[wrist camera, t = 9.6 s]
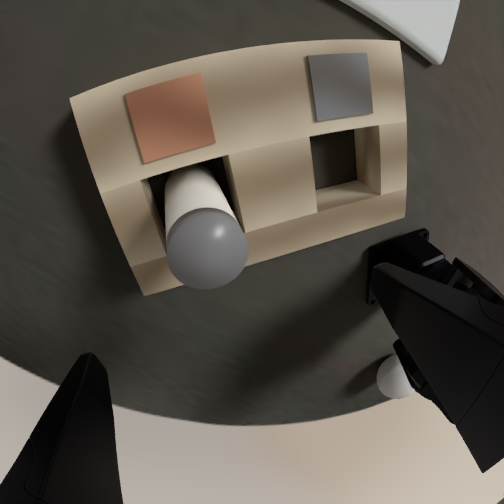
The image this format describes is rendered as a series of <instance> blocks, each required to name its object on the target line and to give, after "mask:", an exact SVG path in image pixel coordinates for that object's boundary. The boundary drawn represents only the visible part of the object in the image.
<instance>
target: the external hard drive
mask: <svg viewBox="0 0 504 504" xmlns="http://www.w3.org/2000/svg"><path fill="white" fill-rule="evenodd" d="M340 1H341V2H343V3H345V4H347V5H348V6H350V7H352V8H354V9H355V10H357V11H359V12H360V13H362V14H363V15H365V16H367V17H368V18H370V19H371V20H373V21H374V22H376V23H378V24H379V25H381V26H382V27H384V28H385V29H387V30H388V31H390V32H391V33H392V34H394V35H395V36H397V37H398V38H399V39H401V40H402V41H403V42H405V43H406V44H407V45H409V46H410V47H412V48H413V49H414V50H415V51H417V52H418V53H419V54H420V55H422V56H423V57H424V58H425V59H427V60H428V61H429V62H430V63H432V64H437V65H440V64H441V63H442V62H443V60H444V57H445V54H446V51H447V47H448V44H449V41H450V37H451V33H452V30H453V26H454V22H455V19H456V15H457V11H458V6H459V3H460V0H340Z"/></svg>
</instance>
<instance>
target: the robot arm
mask: <svg viewBox="0 0 504 504" xmlns="http://www.w3.org/2000/svg"><path fill="white" fill-rule="evenodd" d="M428 238H429V231H428V230H427V229H425V228H423V229H420V230H417V231H414V232H411V233H409V234H406V235H403V236H400V237H397V238H394V239H391V240H388V241H385V242H383V243H380V244H377V245H374V246H372V247H371V248H370V250H369V264H368V282H367V297H366V303H367V304H368V305H369V306H373V305H376V304H378V303H379V304H380V306H381V307H382V309H383V311H384V313H385V315H386V317H387V319H388V320H389V322H390V324H391V326H392V328H393V329H394V331H395V332H396V334H397V335H398V337H399V339H398V340H396V341H395V342H394V344H393V347H394V349H395V351H396V354H397V356H398V359H399V361H400V363H401V365H402V367H403V370H404V372H405V374H406V377H407V379H408V381H409V383H410V386H411V387H412V388H413V389H414V390H415V391H416V392H418V393H419V394H420V395H422V396H423V397H425V398H427V399H428V400H431V401H432V402H433V403H434V404H435V405H436V406H437V407H438V408H439V409H440V410H441V411H442V412H443V414H444V415H445V416H446V418H447V419H448V420H449V421H450V422H451V423H452V424H455V425H456V428H457V430H458V431H459V433H460V435H461V436H462V438H463V440H464V441H465V443H466V445H467V447H468V448H469V450H470V452H471V454H472V456H473V457H474V459H475V461H476V463H477V465H478V467H479V468H480V470H481V472H482V473H484V472H485V471H487V470H488V469H490V468H491V467H492V466H494V465H495V464H496V463H497V462H499V461H500V460H501V459H503V458H504V296H503V295H502V294H501V292H500V291H499V290H498V289H497V288H496V287H495V286H494V285H493V284H491V283H490V282H489V281H488V280H487V279H486V278H484V277H483V276H482V275H481V274H480V273H478V272H477V271H476V270H474V269H473V268H471V267H470V266H468V265H467V264H465V263H464V262H462V261H461V260H459V259H458V258H456V257H455V259H454V261H453V262H452V263H453V264H450V263H449V262H448V261H447V260H446V259H445V255H444V254H443V253H442V252H441V251H440V250H438V249H437V248H436V247H435V246H433V245H432V244H431V243H429V242H428ZM375 251H376V252H375ZM374 252H375V253H374ZM0 504H123V499H122V493H121V487H120V479H119V471H118V462H117V453H116V441H115V427H114V416H113V409H112V402H111V396H110V389H109V382H108V374H107V371H106V369H105V367H104V366H103V365H102V363H101V362H100V361H99V359H98V358H97V357H96V356H95V354H94V353H92V352H90V353H85V354H82V355H80V356H79V358H78V359H77V361H76V362H75V364H74V365H73V367H72V368H71V370H70V371H69V373H68V375H67V376H66V378H65V379H64V381H63V382H62V384H61V385H60V387H59V389H58V390H57V392H56V394H55V395H54V397H53V398H52V400H51V401H50V403H49V405H48V406H47V408H46V410H45V411H44V413H43V415H42V416H41V418H40V420H39V421H38V423H37V425H36V426H35V428H34V430H33V432H32V433H31V435H30V439H28V440H27V442H26V444H25V446H24V447H23V449H22V451H21V452H20V454H19V456H18V458H17V459H16V461H15V462H14V464H13V466H12V467H11V469H10V470H9V472H8V474H7V475H6V476H5V478H4V480H3V481H2V483H1V484H0ZM497 504H504V498H503V499H502V500H501V501H500V502H499V503H497Z"/></svg>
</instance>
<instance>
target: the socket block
mask: <svg viewBox="0 0 504 504" xmlns="http://www.w3.org/2000/svg"><path fill="white" fill-rule="evenodd" d="M69 99H70V102H71V106H72V109H73V113H74V116H75V120H76V123H77V127H78V130H79V133H80V136H81V140H82V143H83V146H84V149H85V152H86V155H87V158H88V161H89V164H90V167H91V170H92V172H93V175H94V178H95V181H96V184H97V186H98V189H99V192H100V195H101V197H102V200H103V202H104V205H105V208H106V210H107V213H108V215H109V218H110V220H111V223H112V225H113V228H114V230H115V232H116V235H117V237H118V240H119V242H120V244H121V247H122V249H123V251H124V253H125V256H126V258H127V260H128V262H129V265H130V267H131V269H132V271H133V273H134V276H135V278H136V280H137V282H138V284H139V286H140V288H141V291H142V293H143V295H144V296H147V295H150V294H154V293H157V292H161V291H164V290H167V289H171V288H174V287H178V286H181V285H184V284H183V283H181V282H180V281H179V280H177V279H176V278H175V277H174V275H173V274H172V272H171V271H170V269H169V266H168V262H167V249H166V232H165V229H164V226H163V223H162V220H161V218H160V215H159V212H158V209H157V206H156V203H155V200H154V197H153V194H152V190H151V187H150V184H149V181H148V177H151V176H155V175H158V174H161V173H164V172H168V171H171V170H174V169H178V168H181V167H185V166H188V165H192V164H195V163H199V162H202V161H206V160H210V159H213V158H217V157H221V156H222V159H223V163H224V168H225V172H226V176H227V181H228V185H229V190H230V194H231V198H232V203H233V207H234V212H233V214H234V216H235V218H236V220H237V222H238V223H239V225H240V227H241V229H242V231H243V233H244V235H245V237H246V239H247V242H248V248H249V254H248V259H247V262H246V265H245V266H248V265H252V264H255V263H258V262H262V261H265V260H268V259H271V258H275V257H278V256H281V255H285V254H288V253H291V252H294V251H298V250H301V249H304V248H308V247H311V246H314V245H317V244H321V243H324V242H327V241H330V240H334V239H337V238H340V237H343V236H346V235H350V234H353V233H356V232H359V231H363V230H366V229H369V228H372V227H375V226H379V225H382V224H385V223H388V222H391V221H394V220H398V219H401V218H404V217H405V208H406V185H407V125H406V103H405V88H404V76H403V66H402V57H401V49H400V41H390V40H318V41H302V42H290V43H280V44H271V45H263V46H256V47H249V48H242V49H236V50H230V51H225V52H220V53H214V54H209V55H205V56H200V57H196V58H191V59H187V60H183V61H179V62H175V63H171V64H167V65H164V66H160V67H156V68H153V69H149V70H146V71H143V72H140V73H136V74H133V75H130V76H127V77H124V78H121V79H118V80H115V81H113V82H110V83H107V84H104V85H102V86H99V87H96V88H94V89H91V90H89V91H86V92H84V93H81V94H79V95H76V96H74V97H72V98H69ZM350 129H354V137H355V151H356V168H357V180H355V181H351V182H347V183H342V184H338V185H334V186H330V187H326V188H322V189H318V190H315V182H314V173H313V164H312V155H311V147H310V138H309V137H310V136H315V135H320V134H326V133H332V132H337V131H343V130H350Z"/></svg>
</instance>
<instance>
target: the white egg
mask: <svg viewBox="0 0 504 504" xmlns="http://www.w3.org/2000/svg"><path fill="white" fill-rule="evenodd" d="M377 384H378V387H379V389H380V391H381V392H382V393H383V394H384V395H386V396H388V397H390V398H393V399H401V398H404V397H407V396H409V395H410V394H412V393H413V392H414V391H415V390H414V389H413V388H412V387H411V386H410V383H409V381H408V379H407V377H406V374H405V372H404V370H403V367H402V365H401V363H400V361H399V359H398V356H397V354H395V355H392V356H390V357H389V358H387V359H386V360H385V361H384V362H383V363H382V364H381V365H380V367H379V370H378V373H377Z"/></svg>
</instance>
